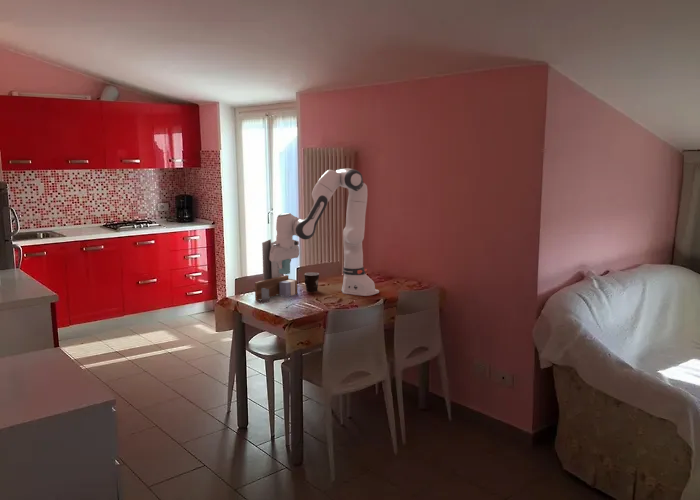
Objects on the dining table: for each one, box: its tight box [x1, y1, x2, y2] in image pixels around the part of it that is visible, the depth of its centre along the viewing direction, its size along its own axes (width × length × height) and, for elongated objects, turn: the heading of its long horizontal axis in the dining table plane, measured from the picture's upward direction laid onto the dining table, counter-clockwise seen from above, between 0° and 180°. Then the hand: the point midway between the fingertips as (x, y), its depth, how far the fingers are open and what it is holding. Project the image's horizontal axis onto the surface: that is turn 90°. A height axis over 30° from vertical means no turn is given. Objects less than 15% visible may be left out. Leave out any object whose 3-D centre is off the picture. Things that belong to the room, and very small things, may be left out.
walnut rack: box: [254, 274, 299, 301], centre depth 333 cm, size 8×25×10 cm, turn 142°
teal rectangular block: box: [279, 259, 291, 275], centre depth 325 cm, size 5×4×8 cm
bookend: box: [255, 288, 270, 304], centre depth 322 cm, size 5×5×7 cm
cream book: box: [286, 279, 296, 297], centre depth 339 cm, size 5×4×8 cm
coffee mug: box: [304, 272, 320, 293], centre depth 347 cm, size 12×9×10 cm
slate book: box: [279, 281, 291, 298], centre depth 336 cm, size 5×4×8 cm
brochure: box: [261, 238, 281, 281], centre depth 343 cm, size 14×6×30 cm, turn 168°
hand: (284, 267), depth 325 cm, fingers closed on teal rectangular block, 4 cm apart
